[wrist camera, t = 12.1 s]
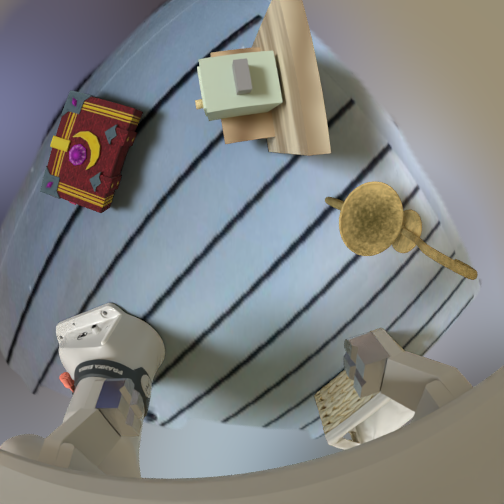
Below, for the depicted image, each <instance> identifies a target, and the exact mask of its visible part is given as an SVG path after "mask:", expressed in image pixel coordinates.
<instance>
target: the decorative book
mask: <svg viewBox="0 0 504 504" xmlns="http://www.w3.org/2000/svg"><path fill="white" fill-rule="evenodd" d="M142 114H143V112H141V111H139V110H137V109H134V108H131V107H128V106H124V105H121V104H117V103H114V102H110V101H106V100H102V99H99V98H96V97H93V96H91V95H87V94H83V93H79V92H75V91H70V93H69V95H68V98H67V101H66V103H65V106H64V109H63V112H62V115H61V117H62V119H61V122H60V125H59V128H58V131H57V134H56V136H53V138H52V142H51V145H50V147H52V151H51V154H50V158H49V162H48V166H46V169H45V173H44V177H43V182H42V186H41V191H40V192H43V193H46V194H48V195H51V196H53V197H56V198H59V199H60V198H63V199H65V200H68V201H69V202H70V203H72V204H75V205H76V204H78V205H81V206H83V207H86V208H89V209H91V210H94V211H96V212H99V213H102V212H104V211H105V210H107V209H108V208H110V206H111V202H112V199H113V195H114V192H115V190H116V189H118V186H119V183H120V180H121V177H122V175H120V173H121V170H122V167H123V164H124V161H125V158H126V155H127V152H128V149H129V147H130V146H132V145H133V143H134V140H135V137H136V135H137V132H135V131H136V128H137V126H138V123H139V121H140V118H141V116H142Z"/></svg>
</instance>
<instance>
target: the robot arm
mask: <svg viewBox="0 0 504 504" xmlns="http://www.w3.org/2000/svg"><path fill="white" fill-rule="evenodd" d="M104 311H106V312H107V313H105V312H104ZM56 334H57V338H58V341H59V344H60V346H59V355H60V359H61V361H62V364H63V366H64V367H65V369H66V371H67V372H64V373H63V374H61V376H60V380H61V382H62V383H63V384H64V386H65V387H66V388H70V389H71V390H72V394H73V397H72V399H71V402H70V404H69V406H68V409H67V411H66V414H65V417H64V419H63V424H62V425H61V426H59V427H58V428H57V429H56V430H55V431H54V432H53V433H52V434H50V435H49V436H48V437H47V438H42V437H40V436H38V435H34V434H24V435H18V436H15V437H12V438H10V439H8V440H7V441H5V442H4V443H3V444H2V445H1V446H0V504H504V366H502V367H501V368H500V369H499V370H497V371H496V372H495V373H493V374H492V375H491V376H489V377H488V378H486V379H485V380H483V381H482V382H481V383H479V384H478V385H476V386H475V387H473V386H471V384H470V383H469V382H468V381H467V380H466V378H465V377H464V376H463V375H462V374H461V373H460V372H459V371H458V369H457V368H455V367H451V366H449V365H446V364H443V363H440V362H437V361H434V360H431V359H428V358H425V357H422V356H419V355H416V354H414V353H411V352H408V351H405V352H403V351H402V350H401V349H400V348H399V347H398V345H397V344H396V343H395V342H394V341H393V339H392V338H391V337H390V336H389V335H388V334H387V332H386V331H385V330H384V329H383V328H379V329H376V330H373V331H370V332H367V333H364V334H361V335H358V336H355V337H351V338H348V339H346V340H345V343H344V348H345V349H346V351H347V352H346V354H345V355H344V367H345V371H346V373H347V375H348V377H349V379H352V380H354V385H353V387H354V388H355V390H356V392H357V394H358V396H359V397H360V398H363V397H366V396H369V395H372V394H374V393H377V392H380V393H382V394H384V395H385V396H387V397H389V398H391V399H392V400H394V401H396V402H398V403H399V404H401V405H403V406H405V407H406V408H408V409H410V410H412V411H414V412H415V414H414V416H413V419H412V421H411V423H410V424H408V425H406V426H404V427H402V428H399V429H397V430H395V431H393V432H390V433H388V434H386V435H383V436H381V437H378V438H376V439H373V440H371V441H368V442H366V443H363V444H360V445H357V446H355V447H352V448H349V449H346V450H343V451H340V452H337V453H334V454H330V455H327V456H324V457H320V458H316V459H313V460H309V461H305V462H301V463H297V464H293V465H289V466H284V467H279V468H274V469H268V470H263V471H257V472H251V473H245V474H237V475H228V476H218V477H205V478H182V479H156V478H141V475H140V467H139V447H140V439H141V432H142V425H143V419H144V417H145V416H146V415H147V411H148V407H149V402H150V397H151V389H152V381H153V378H154V376H155V374H156V372H157V370H158V368H159V367H160V365H161V364H162V362H163V360H164V358H165V347H164V343H163V341H162V339H161V337H160V336H159V334H158V333H157V332H156V331H155V330H154V329H153V328H152V327H151V326H150V325H148V324H147V323H146V322H144V321H142V320H140V319H138V318H136V317H134V316H131V315H129V314H126V313H125V312H124V311H122V310H121V309H120V308H119V307H118V306H116V305H115V304H113V303H107V304H104V305H102V306H99V307H97V308H94V309H92V310H89V311H87V312H84V313H81V314H79V315H76V316H74V317H71V318H69V319H66V320H64V321H61V322H59V323H58V324H57V326H56ZM74 385H75V386H74Z"/></svg>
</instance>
